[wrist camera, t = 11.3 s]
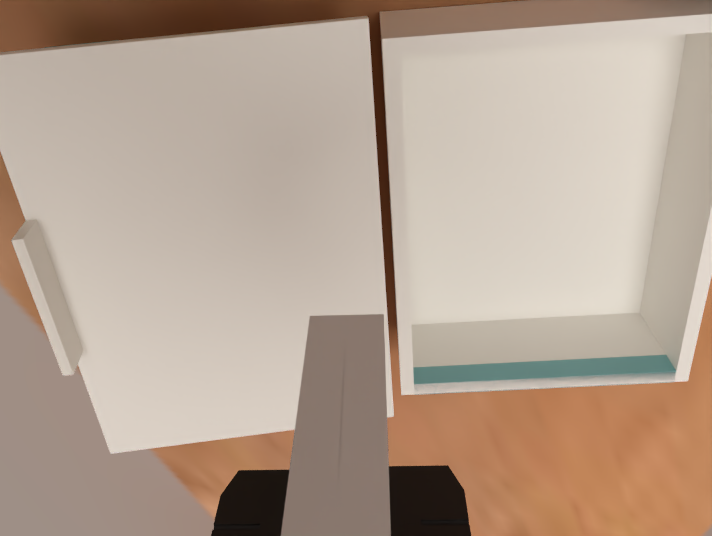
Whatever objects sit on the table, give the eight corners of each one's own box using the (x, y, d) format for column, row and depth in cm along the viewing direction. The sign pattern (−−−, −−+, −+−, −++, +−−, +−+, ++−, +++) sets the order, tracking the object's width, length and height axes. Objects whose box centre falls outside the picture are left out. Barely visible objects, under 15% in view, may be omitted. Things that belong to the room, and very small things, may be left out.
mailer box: (379, 11, 27) (381, 39, 23) (702, -14, 27) (771, 9, 22) (397, 328, 36) (401, 395, 31) (645, 315, 35) (687, 381, 30)
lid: (374, 26, 21) (366, 15, 23) (-54, 69, 20) (-27, 54, 22) (399, 440, 30) (391, 407, 31) (102, 479, 29) (113, 444, 31)
